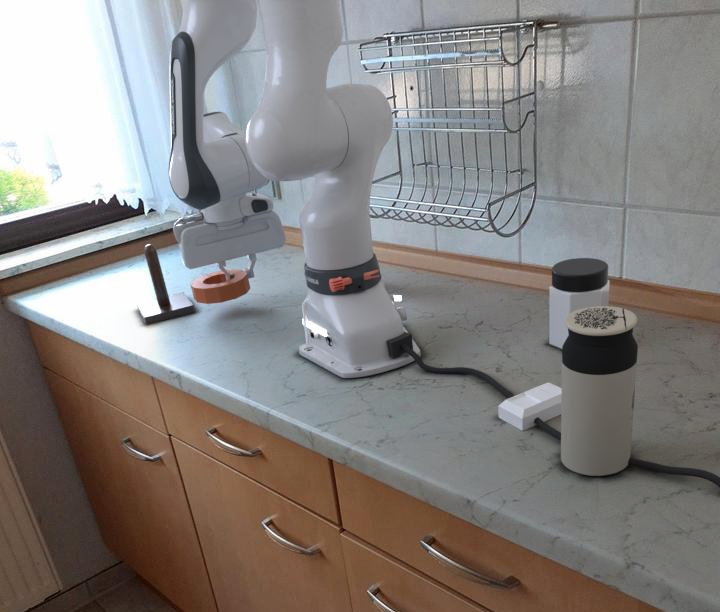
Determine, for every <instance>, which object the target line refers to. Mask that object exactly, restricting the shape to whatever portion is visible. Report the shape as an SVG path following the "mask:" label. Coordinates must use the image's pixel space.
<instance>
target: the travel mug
mask: <svg viewBox="0 0 720 612" xmlns="http://www.w3.org/2000/svg"><path fill="white" fill-rule="evenodd" d="M637 323H638V317H637V315H636V314H635V313H634V312H633V311H631V310H629V309H626V308H623V307H619V306H612V305H611V306H610V305H609V306H595V307H588V308H583V309H579V310H576V311H574V312H572V313H570V314H569V315H568V316H567V317H566V319H565V325H566V327H567V328H568V333H569V335H568V337H567V339H566V341H565V342H564V344H563V346H562V349H561V352H562V353H561V388H562V405H561V415H560V416H561V417H560V422H561V423H560V432H561V441H560V461H561V463H562V464H563V466H564V467H566V468H567V469H568V470H570V471H572V472H574V473H576V474H579V475H584V476H590V477H594V476H595V477H601V476H609V475H613V474H616V473H619V472H621V471H623V470H625V469H626V468H627V467H628V466H629V465H628V461H629V458H631V451H632V438H633V423H634V410H635V409H634V407H635V393H636V382H637V381H636V378H637V365H638V351H639V345H638V343H637V341H636V338H635V337H634V334H633V332H634V327H635V326H636V325H637Z"/></svg>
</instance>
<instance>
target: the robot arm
mask: <svg viewBox="0 0 720 612" xmlns="http://www.w3.org/2000/svg"><path fill="white" fill-rule="evenodd" d="M182 1H183V3H182V6H183V8H182V18H181V23H180V27H179V30H178V32H177V34H176V36H175V37H174V38H173V39H172V41H171V44H170V48H169V49H170V52H169V109H170V111H169V112H170V114H169V115H170V150H169V151H170V152H169V153H170V154H169V159H168V180H169V183H170V188H171V189H172V192H173V193H174V195H175V197H176V198H178V199H179V200H180V201H181V202H182V203H184V204H185V205H187V206H188V207H190V208H192V209H195V210H198V211H200V213H199V212H198V213H195V214H192V215H189V216H182V217H180V218H178V220H177V221H175V222H174V224H173V226H172V233H173V237H174V239H175V241H176V242H177V243H178V246H179V255H180V259H181V262H182V264H183V266H184V267H186V268H187V269H188V270H195V269H198V268H202V267H206V266H210V265H214V264H216V267H218V269H219V270H220V271H222V272H223V273H224V274H225V276H226V280H227V281H229V280H231V279H233V278H234V276H235V275H234V273H233V272H227V270H228V269H226V267H227V263H226V261H230V260H235V259H238V258H242V257H246V258H247V259H248V264H247V267H244V268H243V271H244V272H246V273H247V275H248V280H249V279H253V278H255V273H254V268H255V265H256V262H257V255H256V254H259V253H264V252H266V251H271V250H274V249H279V248H283V247H284V245H285V244H286V242H287V239H286V235H285V230H284V226H283V224H282V220H281V218H280V216H279V214H278V213H277V212H276V211H274V210H273V209H274V202H273V201H274V200H272V198H270V197H269V196H267V195H265V194H261V193H253V192H255V191H257V190H259V189H262V188H264V187H265V186H267V185H269V182H295V181H302V180H305V179H308V178H311V177H314V176H315V178H314V182H313V183H314V184H313V187H312V188H313V189H312V191H311V193H310V196H309V197H308V199H307V200H306V202H305V203H304V205H302V208H301V210H300V212H299V213H300V214H299V227H300V234H301V239H302V240H301V241H302V245H303V252H304V258H305V263H304V265H303V267H304V278H305V282H306V287H307V288H308V291H307V294H306V297H305V298H304V300H303V302H302V303H301V310H302V312H301V313H302V319H301V320H302V325H303V329H304V337H305V342H304V343H302V344H301V345H300V346H299V347H298V354H299V355H300V356H301V357H303V358H305V359H307V360H309V361H311V362H313V363H314V364H316V365H318V366H319V367H321V368H323V369H325V370H327V371H329V372H330V373H332V374H334V375H337V376H338V377H340V378H342V379H355V378H363V377H369V376H374V375H377V374H381V373H385V372H388V371H392V370H395V369H398V368H401V367H403V366H406V365H408V364H410V363H411V364H412V363H413V362H416V364H417V366H418V367H419V368H420V369H422V370H423V371H426V372H428V373H431V374H440V375H448V374H468V375H471V376H474V377H477V378H480V379H482V380H483V381H485V382H486V383H487V384H489V385H490V386H492V387H493V388H494V389H495V390H496V391H498V392H499V393H500V394H502V395H503V396H504V397H505V398H506V399H508V398H511V397H513V396H515V395H514V394H513V393H512V392H511V391H510V390H509V389H508V388H507V387H505V386H504V385H502V384H500V382H498V381H497V380H496V379H494V378H493V377H492V376H490V375H489V374H487V373H485V372H483V371H481V370H478V369H475V368H472V367H471V368H470V367H462V366H459V367H435V366H431V365H428V364H426V363H425V362H424V361H423V359H422V358H421V357H422V353H421V350H420V348H419V346H418V344H417V343H416V341H414V339H413V334H412V333H409V332H408V330H407V329H406V327H405V326H404V325H403V322H406V321H407V319H408V316H407V310H406V308H405V306H400V307H396V305H395V302H401V301H402V295H399V294H397V295H396V294H393V293H389V291H388V290H387V287H386V285H385V282H383V281H382V274H381V273H382V272H381V270H380V269H381V268H380V267H381V266H380V263H379V261H378V259H377V254H376V253H375V252H374V247H373V237H372V226H371V209H370V206H371V193H372V187H373V186H372V185H373V181H374V176H375V171H376V168H377V164H378V161H379V159H380V156H381V154H382V151H383V150H384V147H386V145H387V144H388V142H389V140H390V138H391V136H392V133H393V129H394V128H393V127H394V117H393V111H392V107H391V103H390V102H389V100H388V98H387V97H386V95H385V94H384V92H382V90H380V89H379V88H378V87H376V86H374V85H371V84H363V83H343V84H338V85H335V86H331V87H327V79H328V72H329V67H330V63H331V59H332V57H333V55H334V54H335V53H336V51H337V50H338V49H339V47H340V46H341V43H342V41H343V36H344V29H343V28H344V27H343V21H342V14H341V10H340V9H341V8H340V3H339V2H340V1H339V0H182ZM257 5H258V6H257ZM258 10H259V15H260V16H259V17H260V21H261V27H262V33H263V40H264V46H265V73H264V74H265V76H264V80H263V81H264V82H263V86H262V87H263V88H262V91H261V96H260V98H259V102H258V105H257V107H256V108H255V110H254V112H253V114H252V116H251V117H250V119H249V121H248V123H247V126H246V130H244V129H242V128H240V127H238V126H236V125H235V124H234V123H232V121H231V120H230V118H229V117H228V115H227V114H226V113H225V112H222V111H212V112H207V113H204V111H205V110H204V95H205V89H206V87H207V84H208V82H209V81H210V78H211V77H212V76H213V75H214V74H215V73H216V72H217V71H218V70H219V69H220V68H221V66H223V65H224V64H225V63H227V62H228V61H230V59H232V58H233V57H235V56H236V55H238V54H239V53H240V52H241V51H242V50H243V49H244V48H245V47H246V46H247V44H248V43H249V42H250V40H251V39H252V37H253V35H254V33H255V30H256V27H257V26H256V25H257V16H258ZM534 423H535V424H536V425H535V426H537V427H538V428H539V429H541V430H542V431H543V432H545V433H547V435H550V436H551V437H552V438H555V439H557V440H558V441H560V442H561V431H559V430H557V429H555V428H554V427H553V426H551V425H549V424H548V423H547V422H546V421H545V422H543V421H542V420H541V419H540V418H538V417H537V418H535V420H534ZM628 466H631V467H636V468H641V469H646V470H649V471H654V472H657V473H661V474H668V475H676V476H687V477H695V478H699V479H700V478H701V479H704V480H706V481H709V482H711V483H713V484H714V485H715V486H717V487H718V488H719V489H720V476H718V475H717V474H714V473H713V472H711V471H708V470H703V469H700V468H693V467H680V466H671V465H665V464H660V463H656V462H652V461H649V460H648V461H647V460H643V459H639V458H633V457H630V458H629V461H628Z"/></svg>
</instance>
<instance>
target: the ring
mask: <svg viewBox="0 0 720 612" xmlns="http://www.w3.org/2000/svg"><path fill="white" fill-rule="evenodd" d="M226 270H227V272H233V273H234V275H235V276H234V278H233V279H231V280H229V281H227V280H226V276H225V274H224V273H223V272H222V270H218V271H214V272H209V273H206V274H203V275H201V276H199V277H196V278H194V279H193V280H192V281H191V283H190V284H189V285H190V289H191V293H192V297H193V299H194V301H195V303H198V304H205V305H211V304H220V303H226V302H229V301H233V300H236V299H238V298H240V297H242V296H245V295H247V294H248V293H249V291H250V290H251V285H250V280H249V279H248V275H247V273H246V272H244V269H243V270H242V269H226Z"/></svg>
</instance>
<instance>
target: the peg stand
mask: <svg viewBox="0 0 720 612" xmlns="http://www.w3.org/2000/svg"><path fill="white" fill-rule="evenodd" d="M143 253H144V257H145V261H146V263H147V269H148V271H149V276H150V279H151V283H152V287H153V290H154V294H155V297H156V298H154V299H149V300H145V301H141V302H136V307H137V311H138V312H139V314H140V316H141V318H142V319H143V322H144V323H145V325H151V324H154V323H159V322H162V321H166V320H169V319H174V318H178V317H182V316H186V315H190V314H194V313H196V309H195V306H194V303H192V302H191V300H190V298H189V297H188V296H187V294H186V293H185V292H184V291H182V292H177V293H173V294H170V295H169V292H168V289H167V284H166V281H165V277H164V274H163V270H162V266H161V262H160V258H159V255H158V251H157V248H156V246H155V245H153V244H151V243H148V244H146V245H145V246H144V248H143Z"/></svg>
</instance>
